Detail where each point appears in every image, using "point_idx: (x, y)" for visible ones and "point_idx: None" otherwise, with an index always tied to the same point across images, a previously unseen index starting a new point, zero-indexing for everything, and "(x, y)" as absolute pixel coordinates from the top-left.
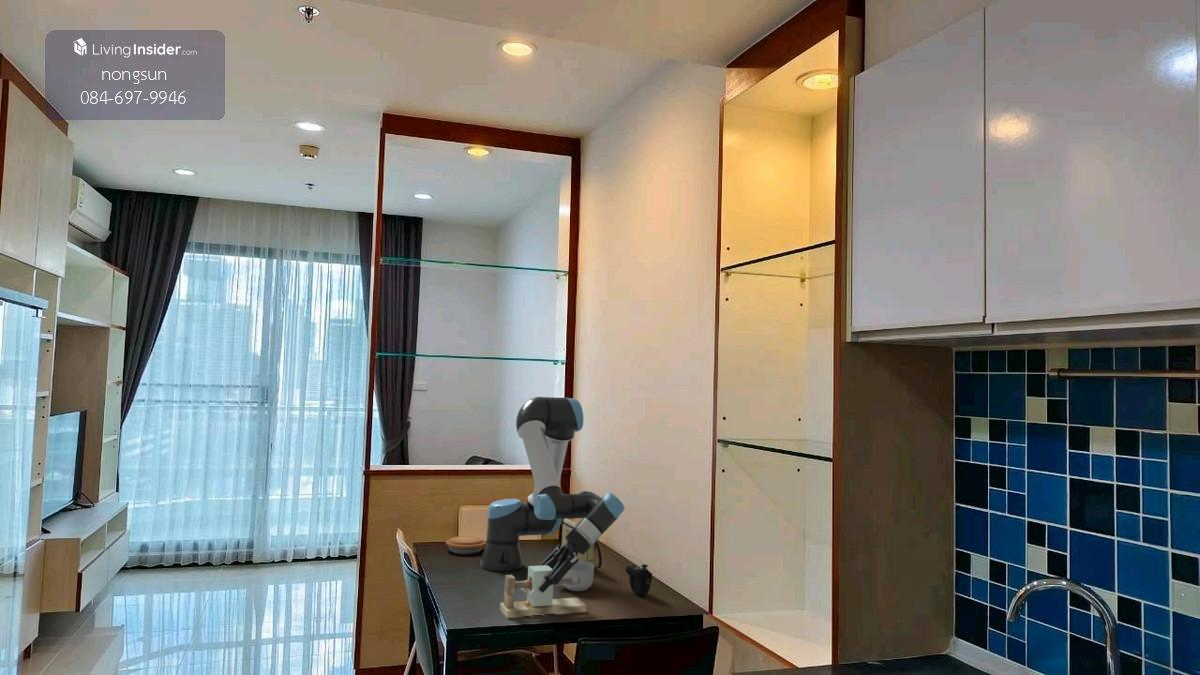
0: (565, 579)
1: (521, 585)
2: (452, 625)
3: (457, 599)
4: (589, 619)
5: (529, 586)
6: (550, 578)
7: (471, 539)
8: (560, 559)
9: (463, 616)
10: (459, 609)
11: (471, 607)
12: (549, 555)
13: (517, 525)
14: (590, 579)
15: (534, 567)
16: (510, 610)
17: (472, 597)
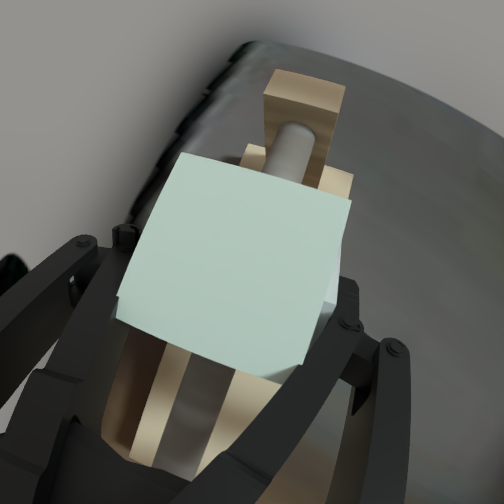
0: (166, 442)
1: (265, 161)
2: (279, 43)
3: (481, 153)
4: None
5: None
6: (83, 237)
7: None
8: (35, 373)
9: (334, 82)
10: (397, 105)
11: (405, 136)
12: (387, 479)
13: None
14: None
15: (287, 221)
16: (246, 155)
17: (490, 197)
